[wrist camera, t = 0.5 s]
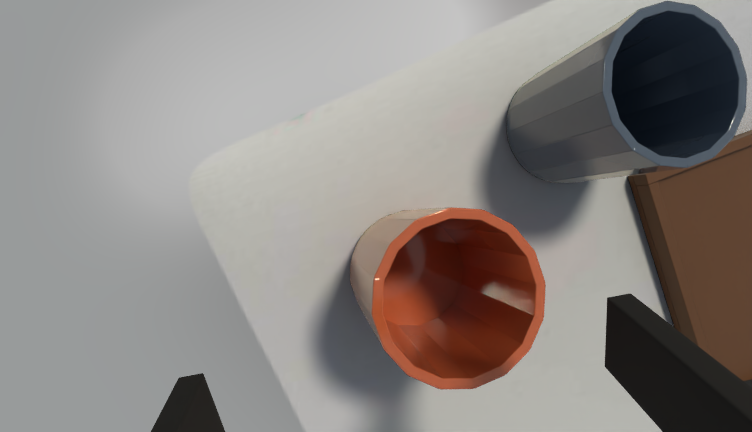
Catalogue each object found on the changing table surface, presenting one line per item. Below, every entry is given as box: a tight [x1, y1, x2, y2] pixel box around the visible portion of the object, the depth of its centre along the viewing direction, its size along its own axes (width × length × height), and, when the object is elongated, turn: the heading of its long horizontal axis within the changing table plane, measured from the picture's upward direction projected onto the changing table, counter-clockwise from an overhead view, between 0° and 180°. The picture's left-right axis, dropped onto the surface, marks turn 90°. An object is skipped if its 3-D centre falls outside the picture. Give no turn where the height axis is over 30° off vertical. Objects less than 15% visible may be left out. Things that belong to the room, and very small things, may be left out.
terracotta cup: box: [350, 208, 545, 389], centre depth 24 cm, size 8×8×10 cm
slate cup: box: [506, 1, 747, 183], centre depth 26 cm, size 8×8×10 cm
